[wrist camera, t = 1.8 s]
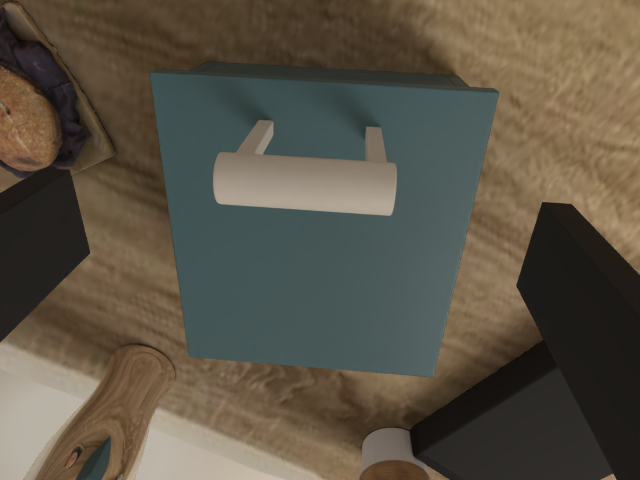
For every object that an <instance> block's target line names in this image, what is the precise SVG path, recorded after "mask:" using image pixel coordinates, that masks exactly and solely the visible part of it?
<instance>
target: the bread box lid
mask: <svg viewBox="0 0 640 480" xmlns="http://www.w3.org/2000/svg"><path fill="white" fill-rule="evenodd" d="M150 81H151V88H152V96H153V103H154V110H155V117H156V124H157V132H158V139H159V146H160V153H161V160H162V167H163V175H164V182H165V189H166V196H167V203H168V211H169V218H170V225H171V232H172V239H173V247H174V254H175V261H176V268H177V275H178V282H179V290H180V297H181V304H182V311H183V318H184V326H185V333H186V340H187V347H188V354H189V357H195V358H207V359H219V360H231V361H243V362H255V363H267V364H279V365H291V366H303V367H315V368H327V369H339V370H352V371H364V372H376V373H388V374H400V375H412V376H424V377H434V373H435V369H436V364H437V360H438V356H439V351H440V347H441V343H442V338H443V334H444V330H445V325H446V321H447V317H448V312H449V308H450V304H451V299H452V295H453V291H454V286H455V282H456V278H457V273H458V269H459V265H460V260H461V256H462V252H463V247H464V243H465V239H466V234H467V230H468V226H469V221H470V217H471V213H472V208H473V204H474V200H475V195H476V191H477V187H478V182H479V178H480V174H481V169H482V165H483V161H484V156H485V152H486V148H487V143H488V139H489V135H490V130H491V126H492V122H493V117H494V113H495V109H496V104H497V100H498V96H499V92H498V91H497V90H496V89H494V88H478V87H461V86H443V85H425V84H407V83H390V82H372V81H354V80H336V79H319V78H301V77H283V76H266V75H248V74H230V73H212V72H195V71H177V70H159V69H156V70H154V71H151V72H150Z"/></svg>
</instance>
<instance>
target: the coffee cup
mask: <svg viewBox="0 0 640 480" xmlns="http://www.w3.org/2000/svg"><path fill="white" fill-rule="evenodd" d="M360 480H430V477H429V474H428V469H427V465H426V464H424V463H423V462H421V461H420V460H418V459H416V458H415V457H414V456H413V452H412V444H411V435H410V431H407V430H404V429H400V428H383V429H379V430H376V431H374V432H372V433H370V434H369V435H368V436H367V437H366V438H365V440H364V442H363V445H362V459H361V474H360Z"/></svg>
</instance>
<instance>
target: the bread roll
mask: <svg viewBox="0 0 640 480" xmlns="http://www.w3.org/2000/svg"><path fill="white" fill-rule="evenodd" d="M56 53H57V49H56V48H55V47H52V46H51V45H50V44H49V43H48V42H47V40H46V38H45V36H44V35H43V34H42V33H41V32H40V31H39V29H38V28H37V26H36V24H35V23H34V21H33V20H32V17H31V16H29V15H28V14H27V13H26V11H25V10H24V9H23V8H22V6H21V5H20V4H19V3H18V2H14V1H11V2H7V3H4V4H3V5H2V6H0V166H2V167H3V168H4V169H6V170H7V171H10V172H12V173H13V174H14V175H15V176H16V177H18V178H22V179H23V178H24V179H25V178H27V177H29V176H31V175H32V174H34V173H36V172H37V171H39V170H41V169H43V168H53V169H68V170H70V172H71V176H72V175H74V174H76V173H78V172H80V171H82V170H84V169H87V168H89V167H91V166H93V165H95V164H98V163H100V162H103V161H104V160H106V159H109V158H110V157H114V156H115V154H116V152H115V151H114V148H113V145H112V144H111V140H109V137H108V135H107V134H106V131H105V130H104V128H103V126H102V123H100V122H99V118H98V117H97V115H95V113H94V112H95V110H92V107H91V105H90V104H89V103H88V102H89V100H88V99H87V97H86V96H85V94H84V93H82V91H81V89H80V87H79V83H77V82H76V81H75V79H74V78H73V77H72V75H71V73H70V71H69V70H68V68H67V67H65V66H64V64H63V62H62V60H61V59H60V58H59V57H58V56H57V54H56Z"/></svg>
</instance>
